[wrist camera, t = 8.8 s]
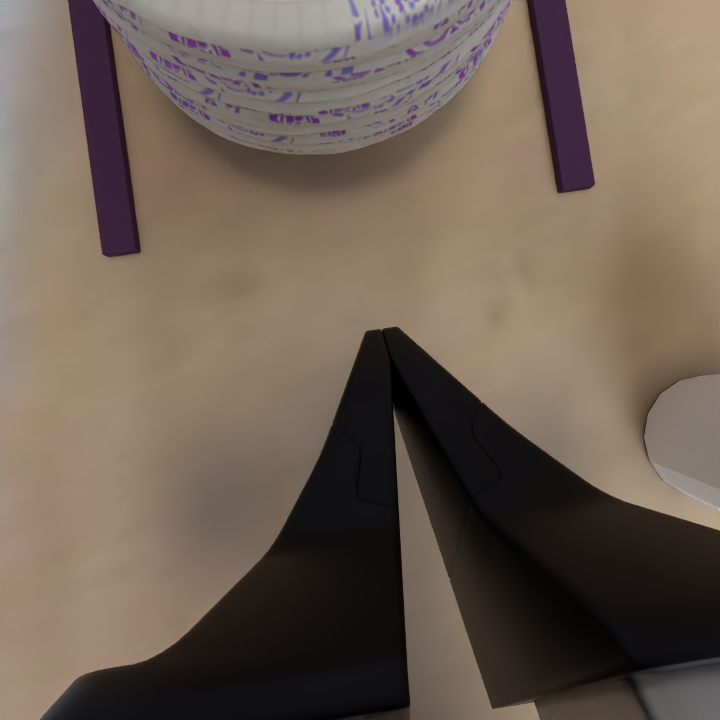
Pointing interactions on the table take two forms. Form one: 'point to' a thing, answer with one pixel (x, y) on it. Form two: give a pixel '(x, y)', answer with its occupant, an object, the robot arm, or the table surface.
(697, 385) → the shot glass
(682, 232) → the table surface
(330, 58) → the paper bowls
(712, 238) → the table surface
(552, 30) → the frame
